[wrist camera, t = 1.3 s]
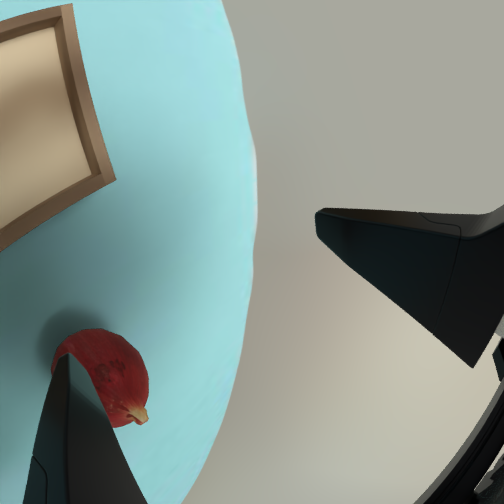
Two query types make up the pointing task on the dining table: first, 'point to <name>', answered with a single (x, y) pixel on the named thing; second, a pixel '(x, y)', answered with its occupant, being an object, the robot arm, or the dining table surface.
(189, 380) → the dining table surface
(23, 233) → the pedestal
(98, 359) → the pomegranate
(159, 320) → the dining table surface
